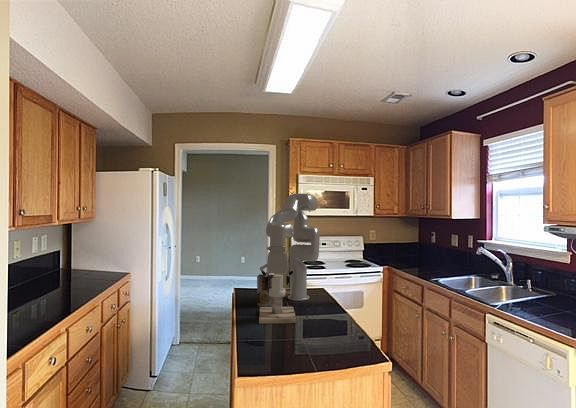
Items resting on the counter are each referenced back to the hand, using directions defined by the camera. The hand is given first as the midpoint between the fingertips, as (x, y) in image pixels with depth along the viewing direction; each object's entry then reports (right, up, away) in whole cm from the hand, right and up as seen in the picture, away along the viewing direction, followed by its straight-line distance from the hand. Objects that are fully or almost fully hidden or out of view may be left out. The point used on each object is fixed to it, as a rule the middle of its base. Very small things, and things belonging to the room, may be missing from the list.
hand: (277, 284), depth 170 cm
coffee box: (-7, -16, +21) cm, 27 cm away
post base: (0, -16, 0) cm, 16 cm away
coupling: (+1, -5, 0) cm, 5 cm away
